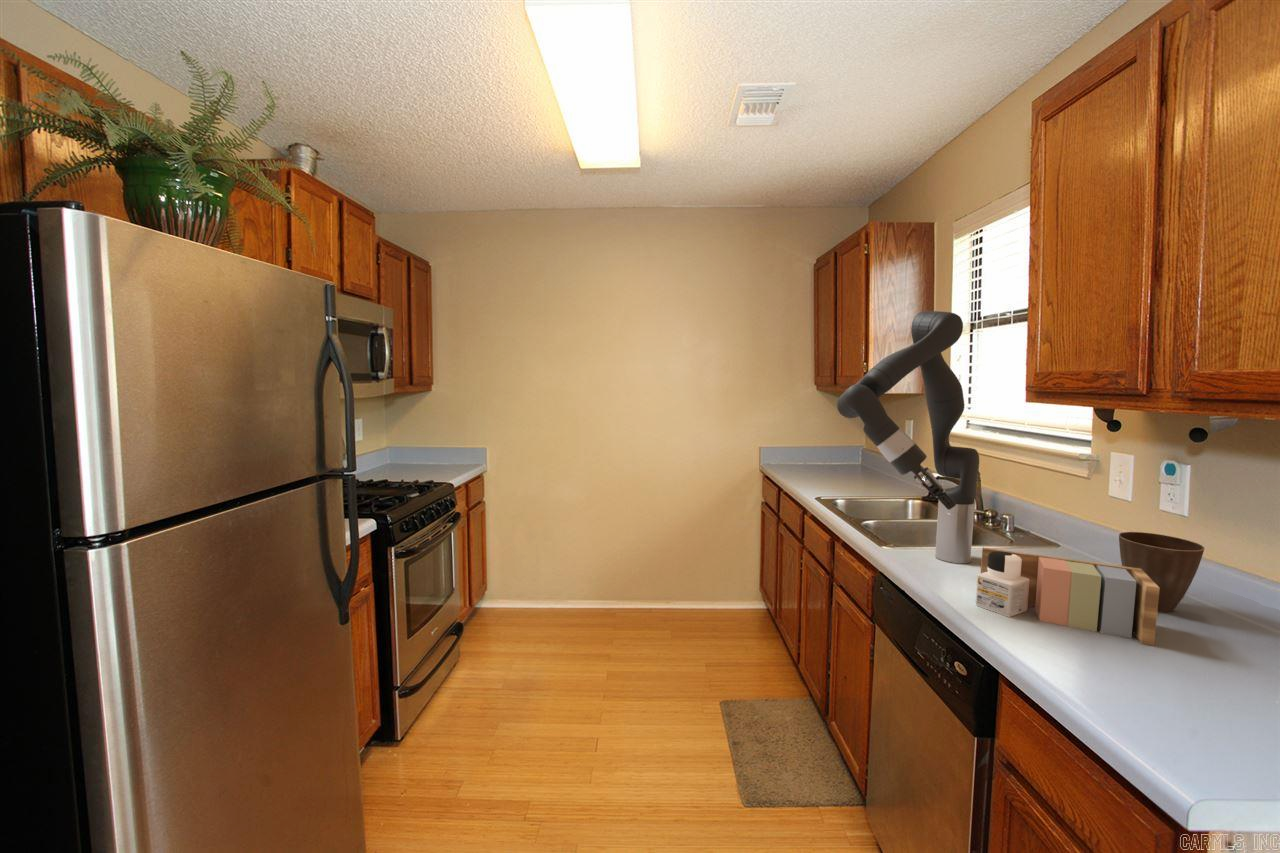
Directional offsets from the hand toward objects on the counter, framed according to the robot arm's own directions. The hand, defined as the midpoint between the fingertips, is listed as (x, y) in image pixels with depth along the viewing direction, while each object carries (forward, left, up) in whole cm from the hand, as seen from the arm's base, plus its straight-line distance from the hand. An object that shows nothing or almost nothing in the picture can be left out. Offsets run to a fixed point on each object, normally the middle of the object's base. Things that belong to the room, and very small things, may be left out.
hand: (952, 507), depth 139 cm
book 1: (0, +21, -22) cm, 30 cm away
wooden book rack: (+1, +22, -22) cm, 31 cm away
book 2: (+1, +26, -22) cm, 34 cm away
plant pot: (-19, +43, -23) cm, 52 cm away
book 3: (+1, +31, -22) cm, 39 cm away
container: (+1, +11, -23) cm, 25 cm away
